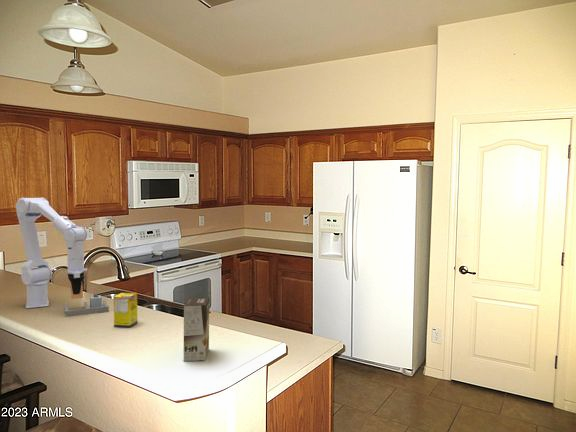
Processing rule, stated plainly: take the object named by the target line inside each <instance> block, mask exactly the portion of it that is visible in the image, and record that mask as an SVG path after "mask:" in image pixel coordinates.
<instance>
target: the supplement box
mask: <svg viewBox="0 0 576 432" xmlns="http://www.w3.org/2000/svg"><path fill="white" fill-rule="evenodd" d="M137 323H138V293H137V292H120V293H118V294H116V295H114V296H113V327H114V328H128V329H129V328H131V327H133V326H135V325H136V324H137Z"/></svg>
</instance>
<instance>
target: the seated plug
mask: <svg viewBox="0 0 576 432" xmlns="http://www.w3.org/2000/svg"><path fill="white" fill-rule="evenodd" d="M94 307H103V297H102V295H101V294H100V295H99V294H98V293H94V294H93V295H90V296H89V308H94Z"/></svg>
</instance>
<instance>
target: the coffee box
mask: <svg viewBox="0 0 576 432" xmlns="http://www.w3.org/2000/svg"><path fill="white" fill-rule="evenodd" d="M209 349H210V297H207V296H206V297H203V296H202V297H199V296H198V297H188V299H187V300H186V301H185V303H184V304H183V362H195V361H196V362H198V361H199V360H204V361H206V359H207V355H208V353H209V351H210V350H209ZM197 360H198V361H197ZM199 362H200V361H199Z"/></svg>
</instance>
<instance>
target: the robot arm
mask: <svg viewBox="0 0 576 432" xmlns="http://www.w3.org/2000/svg"><path fill="white" fill-rule="evenodd" d="M14 206H15V210H16V211H15V212H16V215H17V219H18V224H19V229H20V234H21V239H22V243H23V249H24V253H25V259H26V261H25V263H24V264H23V265H22V266H21V268H20V269H21V275H20V276H21V277H20V278H21V281H22V283H23V284H24V285H25V286H26V303H25V309H33V308H40V307H41V308H42V307H49V303H50V301H49V299H48V283H49V282H50V280H51V279H52V277H53V270H52V269H51V267H50V265H49V262H48V261H46V260H45V259H43V258H42V257H43V256H42V251H41V246H40V242H39V237H38V232H37V227H36V223H35V222H36V221H37V219H38V218H40V217H41V216H43V217H45V218H46V219H48V220H49V221H51V222H52V226H53V227H54V228H55V230H57V231H58V232H59V233H60V234H61V235H62V237H63V241H64V242H65V246H66V248H67V250H66V251H67V259H66V261H67V270H66V272H67V273H68V274H67V278H68V280H69V282H70V286H71V285H72V290H73V294H80V290H81V285H83V282H84V279H85V277H86V276H85V275H84V274H85V273H84V272H88V268H85V251H84V250H85V248H84V247H85V241H86V240H87V238H88V231H87V229H86V228H85V227H84V226H77V224H75V223H74V222H72V220H70V219H69V216H65V215H59V213H57V211H56V210H54V208H52V206H51V205H50V202H49V201H48V200H47V199H46V198H45V197H42V196H41V197H20V198H18V200H17V201H16V203H15V205H14Z"/></svg>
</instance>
